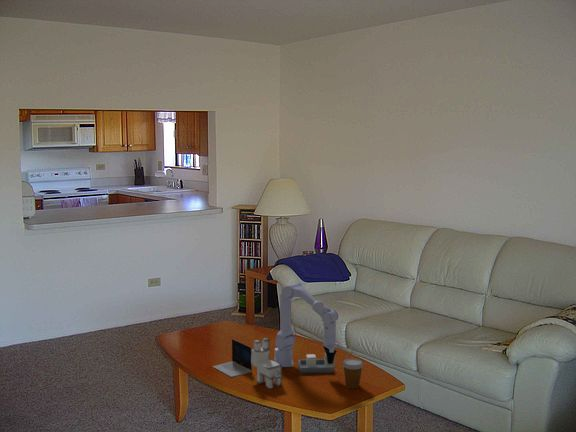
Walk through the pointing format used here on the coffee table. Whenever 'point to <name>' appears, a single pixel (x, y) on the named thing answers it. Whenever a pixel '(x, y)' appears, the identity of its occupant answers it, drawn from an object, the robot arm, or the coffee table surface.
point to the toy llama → (265, 364)
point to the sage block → (327, 361)
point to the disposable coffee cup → (352, 372)
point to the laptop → (237, 360)
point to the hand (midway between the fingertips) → (329, 361)
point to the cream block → (310, 360)
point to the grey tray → (318, 369)
